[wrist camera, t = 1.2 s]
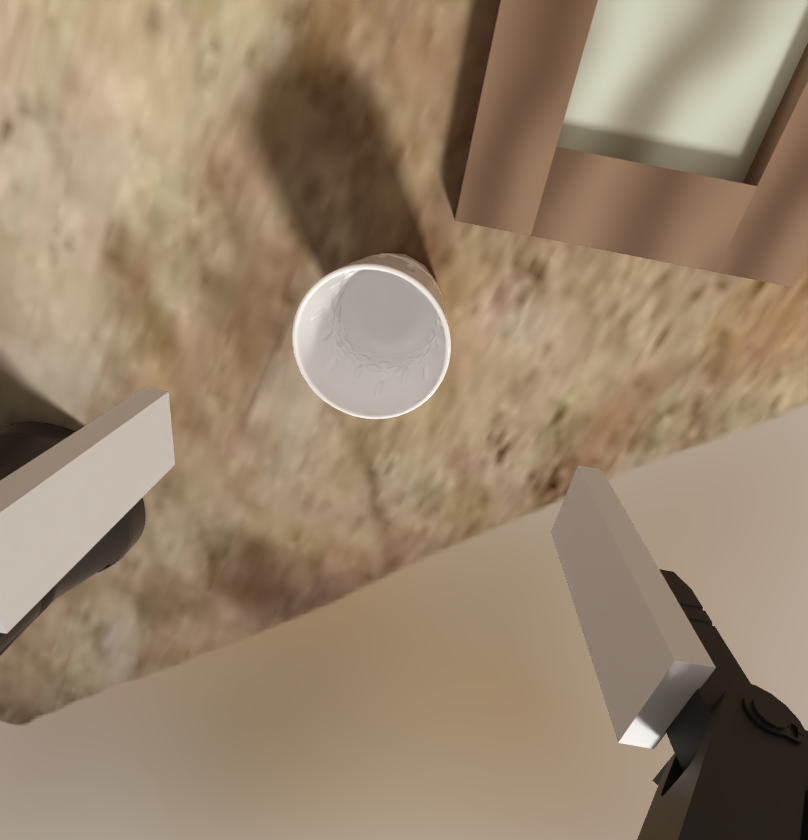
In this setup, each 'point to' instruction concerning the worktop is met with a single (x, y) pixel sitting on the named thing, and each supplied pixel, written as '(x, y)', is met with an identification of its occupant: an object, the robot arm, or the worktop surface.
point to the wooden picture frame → (648, 131)
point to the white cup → (373, 336)
